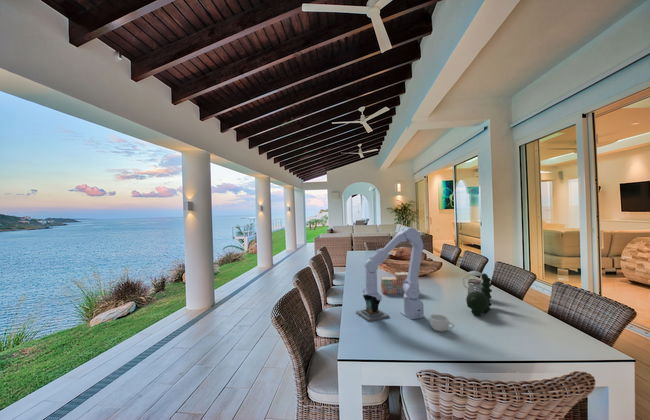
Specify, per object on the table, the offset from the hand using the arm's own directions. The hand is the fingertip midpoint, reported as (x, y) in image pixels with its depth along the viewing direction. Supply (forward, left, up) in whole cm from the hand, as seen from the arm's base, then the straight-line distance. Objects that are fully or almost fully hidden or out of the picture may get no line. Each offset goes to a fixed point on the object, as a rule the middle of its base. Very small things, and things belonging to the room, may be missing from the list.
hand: (372, 310), depth 141 cm
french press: (-2, -69, -3) cm, 69 cm away
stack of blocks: (+25, -35, -3) cm, 43 cm away
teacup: (-28, -18, -3) cm, 33 cm away
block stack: (0, 0, -2) cm, 2 cm away
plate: (0, 0, -2) cm, 2 cm away
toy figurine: (-20, -52, -3) cm, 56 cm away
